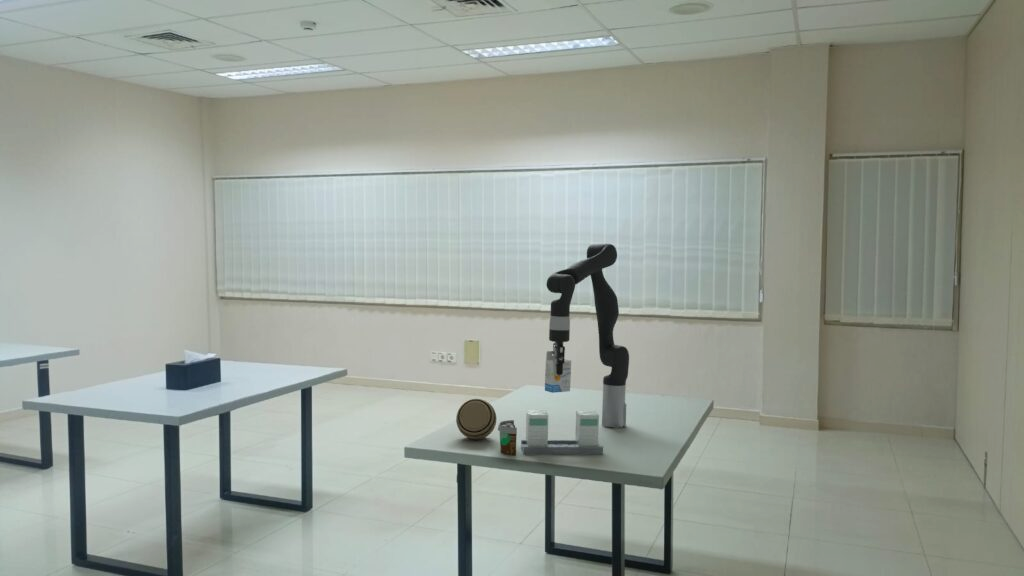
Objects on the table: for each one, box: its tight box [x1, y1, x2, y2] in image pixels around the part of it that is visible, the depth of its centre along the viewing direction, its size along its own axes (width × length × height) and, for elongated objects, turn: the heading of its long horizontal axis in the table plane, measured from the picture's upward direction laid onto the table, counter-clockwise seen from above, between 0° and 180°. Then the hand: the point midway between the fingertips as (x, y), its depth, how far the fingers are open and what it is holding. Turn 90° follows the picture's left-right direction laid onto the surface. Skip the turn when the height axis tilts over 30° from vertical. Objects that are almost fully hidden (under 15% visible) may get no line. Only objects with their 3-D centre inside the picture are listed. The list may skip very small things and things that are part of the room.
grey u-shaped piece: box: [520, 410, 604, 455], centre depth 262 cm, size 28×10×14 cm, turn 94°
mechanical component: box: [455, 398, 497, 440], centre depth 276 cm, size 15×15×15 cm
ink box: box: [544, 350, 572, 394], centre depth 272 cm, size 8×5×15 cm, turn 122°
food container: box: [497, 419, 518, 457], centre depth 259 cm, size 12×6×10 cm, turn 5°
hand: (558, 372), depth 272 cm, fingers closed on ink box, 6 cm apart
